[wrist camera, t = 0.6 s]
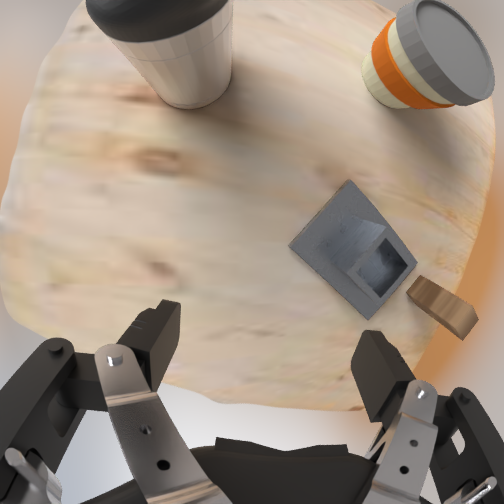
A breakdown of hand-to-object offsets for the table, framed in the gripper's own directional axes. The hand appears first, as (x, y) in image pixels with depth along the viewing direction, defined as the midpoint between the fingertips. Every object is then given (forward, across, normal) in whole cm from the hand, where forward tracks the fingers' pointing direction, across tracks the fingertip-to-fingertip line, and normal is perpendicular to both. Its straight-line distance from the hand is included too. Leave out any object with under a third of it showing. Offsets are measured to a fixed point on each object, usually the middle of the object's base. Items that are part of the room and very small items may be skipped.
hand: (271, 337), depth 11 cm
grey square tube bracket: (+23, -13, +1) cm, 27 cm away
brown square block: (+24, -25, +5) cm, 35 cm away
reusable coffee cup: (+25, -13, -24) cm, 37 cm away
